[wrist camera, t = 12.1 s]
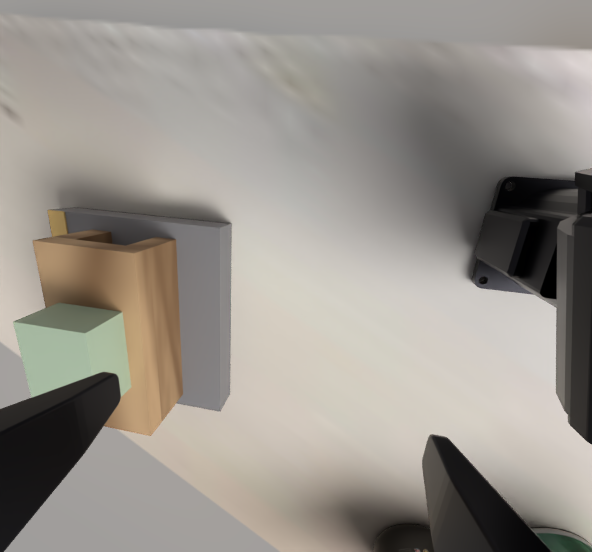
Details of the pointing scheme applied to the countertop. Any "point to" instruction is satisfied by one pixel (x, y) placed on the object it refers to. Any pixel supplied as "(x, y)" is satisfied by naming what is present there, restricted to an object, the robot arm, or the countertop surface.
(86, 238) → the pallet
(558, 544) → the canned tomato
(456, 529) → the robot arm
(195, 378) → the dock
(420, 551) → the supplement bottle
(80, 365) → the pale green block
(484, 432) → the countertop surface
